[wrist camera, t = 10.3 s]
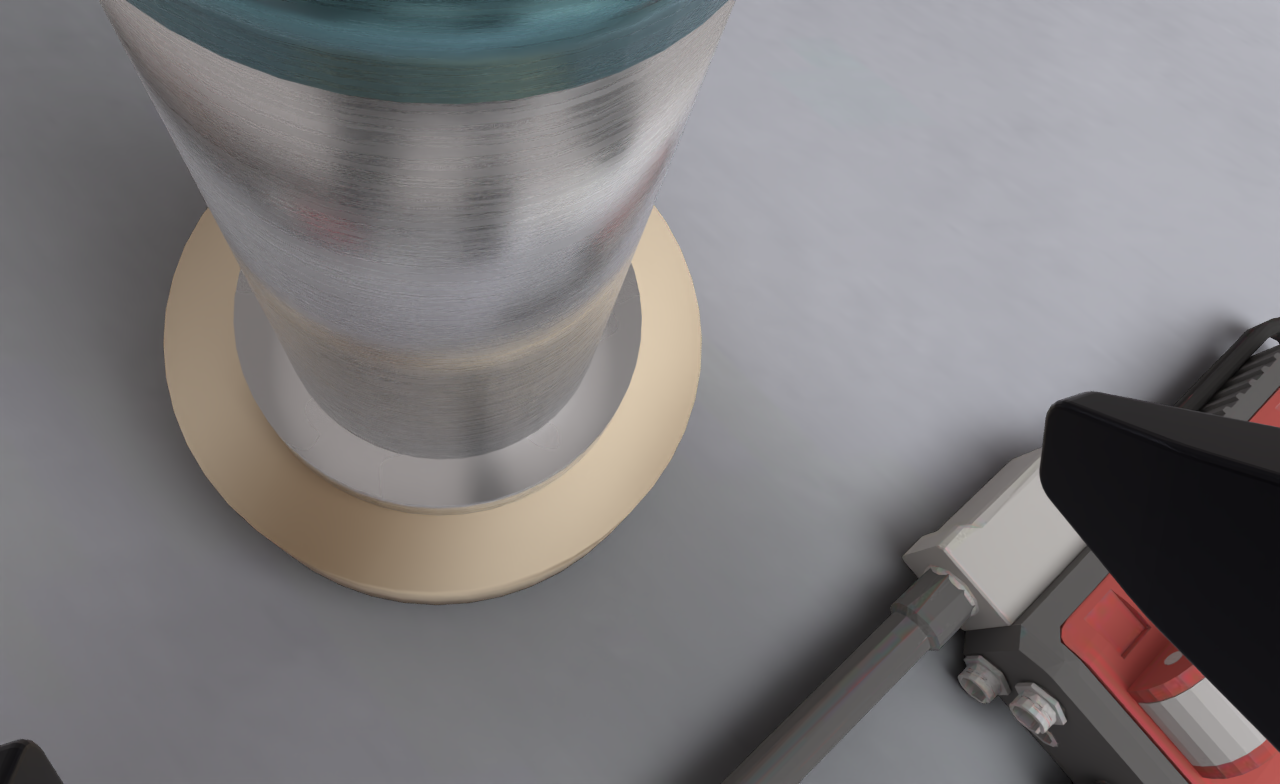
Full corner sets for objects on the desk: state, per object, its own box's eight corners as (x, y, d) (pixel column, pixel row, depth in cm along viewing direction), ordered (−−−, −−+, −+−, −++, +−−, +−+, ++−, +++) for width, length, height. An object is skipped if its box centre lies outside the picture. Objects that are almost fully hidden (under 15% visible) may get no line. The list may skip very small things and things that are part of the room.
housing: (706, 339, 19) (1155, -298, 7) (435, 600, 16) (354, 354, 4) (456, 96, 19) (447, -894, 7) (159, 314, 17) (-599, -618, 5)
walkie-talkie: (1184, 276, 26) (633, 806, 19) (1323, 197, 22) (679, 839, 15) (1422, 527, 25) (923, 1174, 18) (1616, 495, 21) (1058, 1318, 14)
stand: (730, 279, 23) (768, 221, 20) (567, 681, 19) (585, 680, 17) (345, 105, 22) (328, 21, 19) (109, 486, 19) (47, 451, 16)
